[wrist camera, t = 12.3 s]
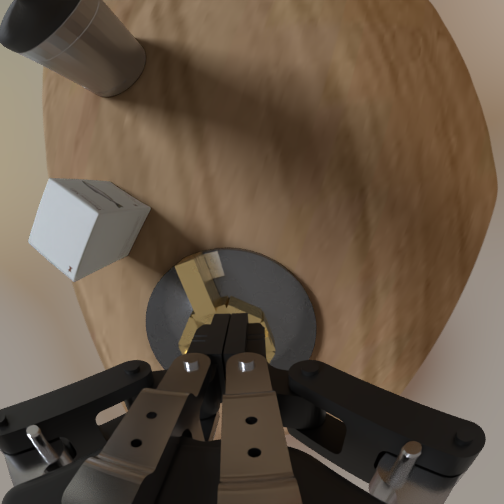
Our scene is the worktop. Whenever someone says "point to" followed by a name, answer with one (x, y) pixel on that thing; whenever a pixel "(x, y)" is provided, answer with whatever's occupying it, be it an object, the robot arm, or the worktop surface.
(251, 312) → the tan curved piece
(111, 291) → the worktop surface
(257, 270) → the flange
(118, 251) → the supplement box
